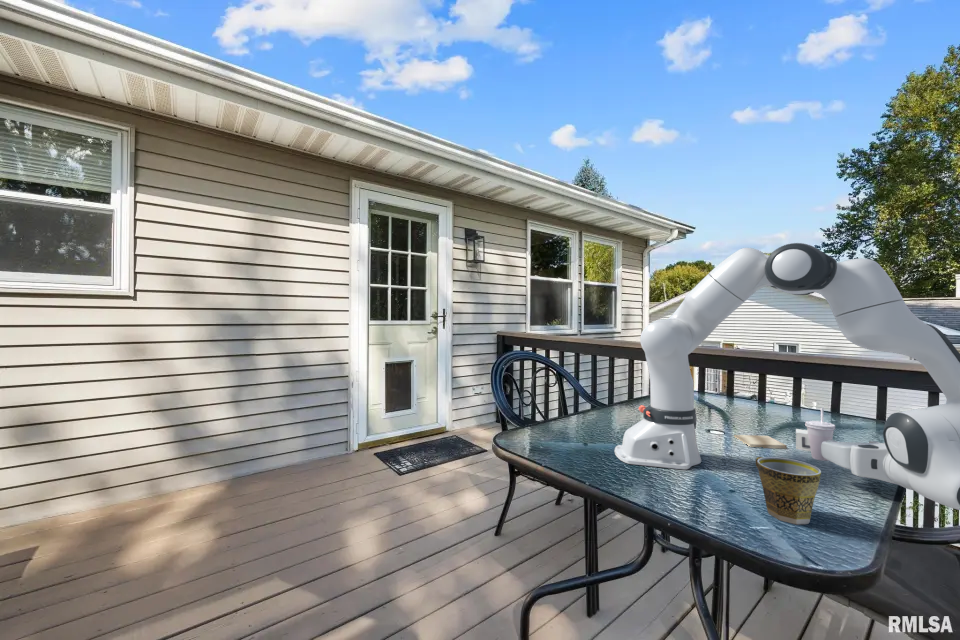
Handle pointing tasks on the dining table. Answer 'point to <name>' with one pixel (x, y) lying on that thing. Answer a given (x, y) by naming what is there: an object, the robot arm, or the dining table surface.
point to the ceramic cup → (788, 488)
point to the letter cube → (802, 440)
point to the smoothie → (819, 435)
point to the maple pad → (760, 441)
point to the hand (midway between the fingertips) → (850, 443)
